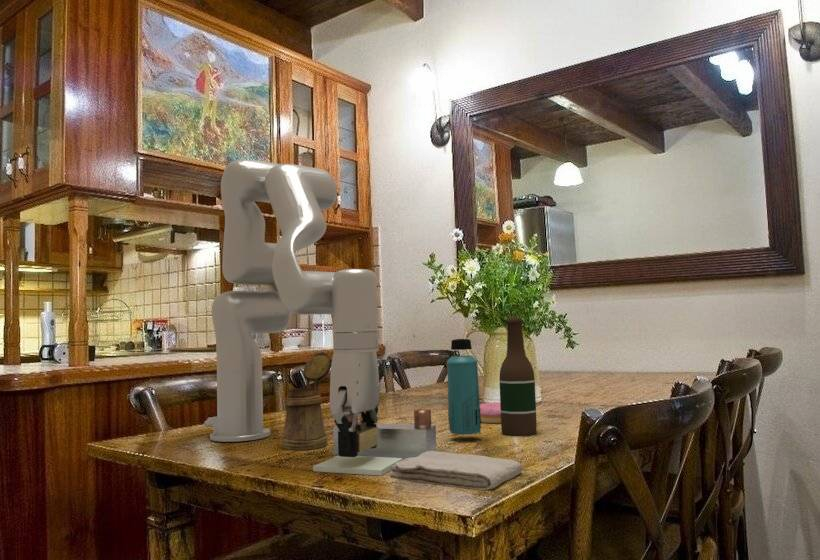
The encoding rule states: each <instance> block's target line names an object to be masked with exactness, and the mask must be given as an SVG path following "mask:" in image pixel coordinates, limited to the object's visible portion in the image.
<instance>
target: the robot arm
mask: <svg viewBox="0 0 820 560" xmlns="http://www.w3.org/2000/svg"><path fill="white" fill-rule="evenodd" d="M220 195H221V203H222V206H223V212H224V233H223V246H222V264H221V265H222V270H221V271H222V275H223V277H224V279H225V280H226V282H228V283H231V284H233V285H234V284H235V285H244V286H245V285H247V286H266V290H229V291H225V292H222V293H220V294H218V295H217V296H216V297H215V298H214V300H213V301H212V304H211V318H212V319H211V320H212V324H213V329H214V336H215V337H214V338H215V345H216V346H215V348H216V400H217V401H216V407H217V408H216V411H217V412H216V415H217V416H212V417H210V416H209V417H207V419H206V420H205V421H204V423H203V426H204V427H206V428H212V429H213V430H212V432H210V434H209V439H210V440H211V441H213V442H219V443H220V442H222V443H237V442H246V441H247V442H249V441H255V440H261V439H265V438H268V437H269V436H271V429H270V428H269V427H268V428H267V427H264V416H263V415H264V412H263V411H264V406H263V405H264V404H263V402H264V400H263V399H264V398H263V396H264V395H263V354H262V351H261V348H260V346H259V345H258V343H257V342H256V340H255V339H254V336H252V335H256V334H258V335H260V334H278V333H281V332H284V331H285V330H286V329H288V327H289V325H290V323H291V320H292V316H293V315H292V314H295V315H306V316H307V315H332V332H333V333H332V341H333V343H332V346H333V348H332V349H333V351H332V352H333V354H332V358H331V362H332V363H331V368H330V375H329V376H330V378H329V379H330V381H329V410H330V413H331V416H332V417H333V419H334V423H335V426H336V430H337V432H338V455H339V456H340V457H356V456H357V455H358V446H357V431H354V430H355V425H356V419H357V414H358V419H359V422H362V423H366V426H371V427H377V425H376V423H377V424H378V416H377V415H378V412H379V405H380V401H381V397H380V389H381V388H380V374H379V373H380V372H379V363H378V357H377V352H379V325H378V324H379V321H378V317H379V315H378V286H377V285H378V281H377V280H378V279H377V276H376V275H377V274H376V273H375V272H374V271H373V270H370V269H366V268H365V269H364V268H347V269H341V270H337V271H336V272H335V271H333V272H332V271H317V270H303V269H302V268H301V266H300V263H299V261H298V257H297V255H296V252H298V251H300V250H302V249H305V248H308V247H310V246H312V245H313V244H315V243H317V241H319V240H320V239H321V238H322V237H323V236H324V235H325V233H326V231H327V220H326V219H325V216H324V214H323V212H322V211H328V210H330V209H331V208H332V207H333V206H334V204H335V202H336V200H337V195H338V187H337V183H336V180H335V178H334V177H333V175H331V173H330V172H329V171H327V170H325V169H322V168H318V167H313V166H312V167H311V166H307V165H299V164H293V163H276V162H275V163H274V162H270V161H269V162H268V161H265V160H258V159H247V158H245V159H244V158H243V159H241V158H240V159H236V160H232V161H231V162H230V163H228V164H227V165H226V166H225V168H224V170H223V173H222V176H221V180H220ZM256 202H260V203H265V204H266V203H267V204H270V205H271V208H272V211H273V214H274V216H275V219H276V221H277V225H278V227H279V230H280V232H281V237H280V239H279V240H278V242H277V243H275V242H266V241H265V240H266V239H265V236H266V235H265V234H266V220H265V217H264V215H263V213H262V211H261V209H260V208H259V206H258V205H257V203H256ZM347 410H351V411H347ZM347 417H350V422H349V420H348V419H347ZM376 447H377V445H376V446H374V447H372V448H376ZM338 455H337V456H338Z"/></svg>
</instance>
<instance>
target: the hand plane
mask: <svg viewBox="0 0 820 560" xmlns="http://www.w3.org/2000/svg"><path fill="white" fill-rule="evenodd" d="M347 411H351V410H347ZM347 419H348V420H349V422H350V417H347ZM358 420H359V414H357V419H356V422H359V421H358ZM413 423H414V424H402V423H401V424H399V423H378V422H377V423H376V425H377V439H378V445H377V447H376V448H369V449H367V450H365V451H363V452H358V455H357V456H370V457H389V458H403V459H405V458H412V457H418V456H419V455H420V454H422V453H424V452H427V451H436V452H437V429H436V428H437V427H436V425H434V424H433V425H432V410H431V409H430V408H419V409H418V408H417V409H413ZM336 426H337V425H335V426H333V430H332V431H333V433H332V434H333V455H334V456H338V432H337V430H336Z"/></svg>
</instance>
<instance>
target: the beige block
mask: <svg viewBox="0 0 820 560" xmlns="http://www.w3.org/2000/svg"><path fill="white" fill-rule="evenodd" d="M354 431H357V446H358V452H363V451H365V450H367V449H369V448H372V447H374V446H376V445H378V439H377V427H371V426H366V423H362V422H360V421H358V422H356V425H355V430H354Z"/></svg>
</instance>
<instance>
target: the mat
mask: <svg viewBox="0 0 820 560" xmlns="http://www.w3.org/2000/svg"><path fill="white" fill-rule="evenodd" d="M402 460H404V458H389V457H370V456H356V457H340V456H339V455H335V456H333V457H331V458H328V459H326V460H325V461H322V462H320V463H316V464H314V465H313V466H312V470H313V472H320V473H336V474H353V475H365V476H366V475H367V476H383V475H385V474H386V473H388V472H391V471H392V469H391V465H395V463H397V462H399V461H402Z"/></svg>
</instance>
